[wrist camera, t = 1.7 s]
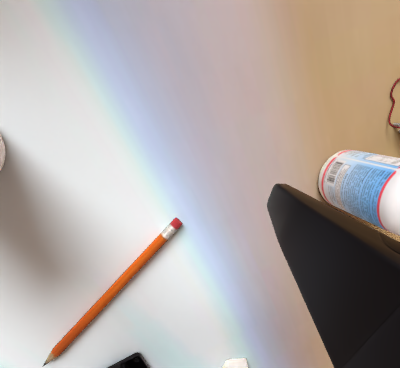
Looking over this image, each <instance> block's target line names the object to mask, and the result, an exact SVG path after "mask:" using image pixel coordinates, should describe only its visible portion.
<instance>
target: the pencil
mask: <svg viewBox="0 0 400 368" xmlns="http://www.w3.org/2000/svg"><path fill="white" fill-rule="evenodd" d="M181 225H182V223H181V221H180V220H179V219H177V218H175V219H174V220H173V221H172V222H171V223H170V224H169V225H168V226H167V227H166V228H165V229H164V230H163V232H162V233H161V234H160V235H159V236H158V237H157V238H156V239H155V240H154V241H153V242H152V243H151V244H150V245H149V247H148V248H147V249H146V250H145V251H144V252H143V253H142V254H141V255H140V256H139V257H138V258H137V259H136V260H135V261H134V263H133V264H132V265H131V266H130V267H129V268H128V269H127V270H126V271H125V272H124V273H123V274H122V275H121V276H120V278H119V279H118V280H117V281H116V282H115V283H114V284H113V285H112V286H111V287H110V288H109V289H108V290H107V291H106V293H105V294H104V295H103V296H102V297H101V298H100V299H99V300H98V301H97V302H96V303H95V304H94V305H93V306H92V307H91V309H90V310H89V311H88V312H87V313H86V314H85V315H84V316H83V317H82V318H81V319H80V320H79V321H78V322H77V324H76V325H75V326H74V327H73V328H72V329H71V330H70V331H69V332H68V333H67V334H66V335H65V336H64V337H63V339H62V340H61V341H60V342H59V343H58V344H57V345H56V346H55V347H54V348H53V350H52V351H51V353H50V355H49V356H48V358H47V360H46V362H45V363H44V365H46V364H47V363H49V362H50V361H52V360H53V359H55V358H57V357H58V356H59V355H60V354H61V353H62V352H63V351H64V350H65V349H66V348H67V347H68V346H69V345H70V344H71V343H72V342H73V341H74V339H75V338H76V337H77V336H78V335H79V334H80V333H81V332H82V331H83V330H84V329H85V328H86V327H87V326H88V324H89V323H90V322H91V321H92V320H93V319H94V318H95V317H96V316H97V315H98V314H99V313H100V312H101V311H102V310H103V308H104V307H105V306H106V305H107V304H108V303H109V302H110V301H111V300H112V299H113V298H114V297H115V296H116V295H117V294H118V292H119V291H120V290H121V289H122V288H123V287H124V286H125V285H126V284H127V283H128V282H129V281H130V280H131V279H132V278H133V276H134V275H135V274H136V273H137V272H138V271H139V270H140V269H141V268H142V267H143V266H144V265H145V264H146V263H147V261H148V260H149V259H150V258H151V257H152V256H153V255H154V254H155V253H156V252H157V251H158V250H159V249H160V248H161V247H162V245H163V244H164V243H165V242H166V241H167V240H168V239H169V238H170V237H171V236H172V235H173V234H174V233H175V232H176V231H177V229H178V228H179V227H180V226H181ZM44 365H43V366H44Z"/></svg>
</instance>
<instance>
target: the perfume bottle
mask: <svg viewBox="0 0 400 368" xmlns="http://www.w3.org/2000/svg"><path fill="white" fill-rule="evenodd" d="M222 368H248V364H247V360H246V358H237V359H228V360H226V362H225V364H224V365H223V367H222Z"/></svg>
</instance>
